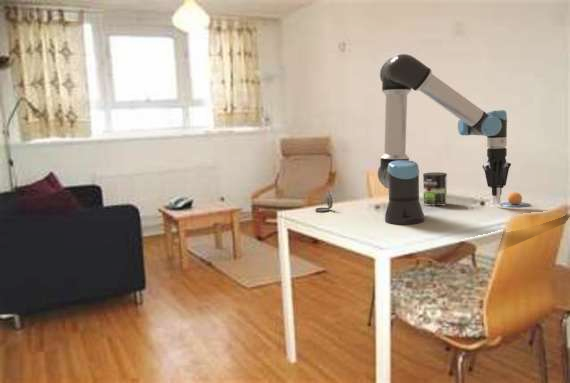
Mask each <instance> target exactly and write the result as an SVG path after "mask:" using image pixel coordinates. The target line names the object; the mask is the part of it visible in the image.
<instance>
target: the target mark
mask: <svg viewBox="0 0 570 383" xmlns="http://www.w3.org/2000/svg"><path fill="white" fill-rule="evenodd" d="M531 205H532V204H531V203H528V202H524V201H523V202H522V201H521V203H520V204H518V205H512V204H511V203H509V201H506V202H500V203H499V206H501V207H505V208H528V207H530V206H531Z"/></svg>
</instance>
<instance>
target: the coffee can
mask: <svg viewBox="0 0 570 383" xmlns="http://www.w3.org/2000/svg"><path fill="white" fill-rule="evenodd" d="M422 176H423V205H424V204H427V205H444V204H447V202H448V201H447V196H448V195H447V193H448V192H447V190H448V189H447V177H448V174H447V173H446V172H436V171H435V172H425V173H423V174H422ZM444 206H445V205H444Z"/></svg>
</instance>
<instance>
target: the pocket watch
mask: <svg viewBox="0 0 570 383" xmlns="http://www.w3.org/2000/svg"><path fill="white" fill-rule="evenodd" d="M327 192H328V193H327V195H326V205H327V207H317V208H315V210H314V211H316V212H317V213H318V212H319V213H325V212H328V211H330V210H331V209H332V208H333V205H334V204H333V197H332V195H331V194H330V192H331V190H330V188H328V190H327Z"/></svg>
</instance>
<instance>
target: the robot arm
mask: <svg viewBox="0 0 570 383" xmlns="http://www.w3.org/2000/svg"><path fill="white" fill-rule="evenodd" d="M379 77H380V81H381V87H382V88H381V91H382V93H383V94H384V95H385V108H384V110H385V112H384V114H385V116H384V119H385V120H384V150H383V151H384V153H383V155H381V156H380V163H379V164H380V166H379V168H378V170H377V177H378V181H379V182H380V184H381V185H382V186H383V187H384V188H385V189H388V204H387V207H386V211H385V214H384V222H386V223H388V224H393V225H395V224H396V225H414V224H415V225H416V224H420V223H423V222H424V221H425V213H424V212H423V208H422V204H421V203H420V202H421V201H420V176H419V175H420V168H419V164H418V162H416V161H414V160H410V157H409V156H408V154H406V153H407V152H406V144H407V143H406V142H407V140H406V139H407V114H408V113H407V110H408V107H407V106H408V95H409V94H410V93H411V91H412V90H413V91H415V92H417V91H419V92H420V93H422V94H423V95H425V96H426V97H428V98H429V99H431V100H433V102H435V103H437V104H438V105H440V106H441V107H442V108H444V109H445V110H447V111H448V112H449V113H450V114H452V115H454V116H455V117H456V118H457V119H459V120H458V122H457V132H458V134H459V135H461V136H483V137H484V136H485V137H487V139H486V147H487V149H486V156H487V163H485V164H483V165H482V168H483V170H484V174H485V179H486V184H487V187H488V188H491V195H492V203H493V204H498V205H500V204H501V196H502V189H504V187H505V186H507V180H508V176H509V175H508V174H509V172H510V171H509V170H510V167H511V166H512V164H511V163H510V162H508V161H507V159H506V157H507V154H508V153H507V152H508V151H507V146H508V145H507V144H508V143H507V142H508V140H507V139H508V138H507V137H508V136H507V132H508V130H507V129H508V124H507V123H508V115H507V111H506V110H505V109H500V110H488V111H487V112H486V111H484V110H483V109H481V108H480V107H478V106H477V105H476V104H474V103H473V102H471V100H469V99H468V98H466V97H465V96H463V95H462V94H460V93H459V92H458V91H456V90H455V89H454V88H453V87H451V86H450V85H448V84H447V83H445V82H444V81H443V80H442V79H440V78H439V77H437V76H436V75H435V74H433V73H432V69H431V68H430V67H429V66H427V65H426V64H424V63H423V62H421V61H420V60H419V59H417V58H415V57H414V56H412V55H410V54H405V53H402V54H398V55H395V56H394V57H391V58H389V59H387V60H386V61H385V62H384V63H383V64H382V66H381V68H380V72H379Z"/></svg>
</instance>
